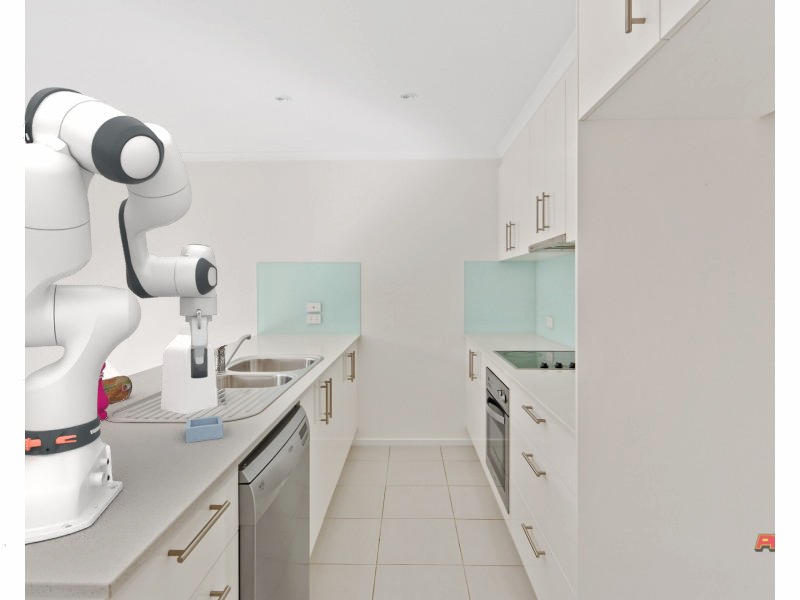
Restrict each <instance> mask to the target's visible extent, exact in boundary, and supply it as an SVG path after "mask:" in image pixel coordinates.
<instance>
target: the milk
mask: <svg viewBox="0 0 800 600" xmlns="http://www.w3.org/2000/svg"><path fill="white" fill-rule="evenodd" d="M207 349H208V377H205V378H191V331H190V325H180V327H179V330H178V334H177V335H176V336H175V337H174V338H173V340H171V341H170V342H169V344H168V345H167V346H166V347H165V348H164V350H163V354H162V372H161V373H162V374H161V375H162V376H161V398H160V399H161V401H160V410H162V411H166V412H171V413H178V414H182V415H189V414H193V413H197V412H199V411H200V412H201V411H203V410H206V409H210V408H213V407H217V406H218V405H219V404H218V403H219V402H218V389H217V388H218V387H217V386H218V385H217V373H216V359H215V349H214V347H213V346H212V345H211V344H210V343H209V342H208V346H207Z"/></svg>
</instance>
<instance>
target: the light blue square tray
mask: <svg viewBox="0 0 800 600" xmlns="http://www.w3.org/2000/svg"><path fill="white" fill-rule="evenodd" d="M185 423H186V424H185V443H186V444H188V443H196V442H201V441H209V440H210V441H211V440H217V439H218V440H219V439H223V438H224V423H223V418H222V415H214V416H213V415H212V416H205V417H196V418H187V419H186V422H185Z"/></svg>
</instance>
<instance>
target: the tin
mask: <svg viewBox="0 0 800 600" xmlns="http://www.w3.org/2000/svg"><path fill="white" fill-rule="evenodd" d="M102 385H103V389H104V391H105V393H106V395H107V396H108V399H109V404H110V405H112V404H111V403H113V404H115V403H114V402H116V403H118V402H117V401H119V402H121V401H120V400H123V399H125V400H127V399H128V398H129V397H130V396H131V394H132V390H133V383H132V379H131V378H130V377H129V376H126V375H118V376H117V375H116V376H112V377H108V378H105V379H102ZM123 401H124V400H123Z"/></svg>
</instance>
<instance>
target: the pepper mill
mask: <svg viewBox="0 0 800 600" xmlns="http://www.w3.org/2000/svg"><path fill="white" fill-rule="evenodd" d="M106 365H107V364H106V362H105V363H104V365H103V367H102V369H101V372H100V376H99V382H98V393H97V415H99V416H100V420H102V421H104V420H103V419H105V418H106V417H107V418H108V411H107V409H108V407H109V406H110V405H109V399H108V396H107V395H106V393H105V391H104V389H103V385H102V380H103V378H105V375H104V374H105V372H103V371H104V370H105V369H106ZM107 418H106V419H107ZM106 419H105V420H106Z"/></svg>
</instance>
